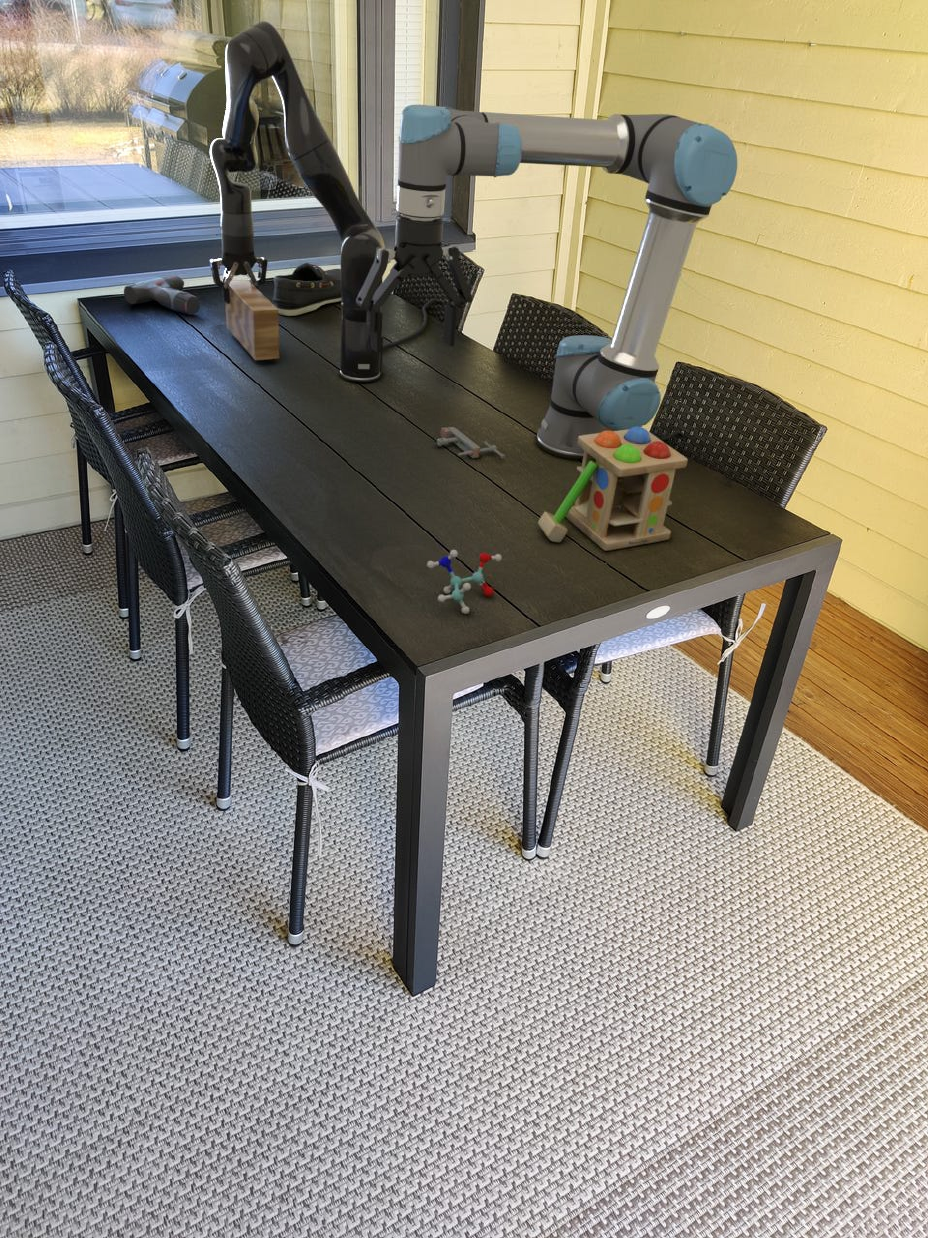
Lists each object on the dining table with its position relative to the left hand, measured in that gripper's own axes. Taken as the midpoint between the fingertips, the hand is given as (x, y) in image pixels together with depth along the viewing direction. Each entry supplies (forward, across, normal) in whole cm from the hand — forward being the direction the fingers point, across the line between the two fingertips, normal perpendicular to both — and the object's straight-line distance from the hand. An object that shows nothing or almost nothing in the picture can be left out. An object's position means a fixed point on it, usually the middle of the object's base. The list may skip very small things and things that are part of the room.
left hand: (240, 301), depth 242 cm
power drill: (+9, -10, +28) cm, 31 cm away
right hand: (-20, +4, -92) cm, 94 cm away
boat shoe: (+9, +28, +24) cm, 38 cm away
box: (+7, 0, -9) cm, 11 cm away
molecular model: (+9, -2, -127) cm, 127 cm away
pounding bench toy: (+9, +32, -115) cm, 120 cm away
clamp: (+9, +24, -77) cm, 82 cm away
